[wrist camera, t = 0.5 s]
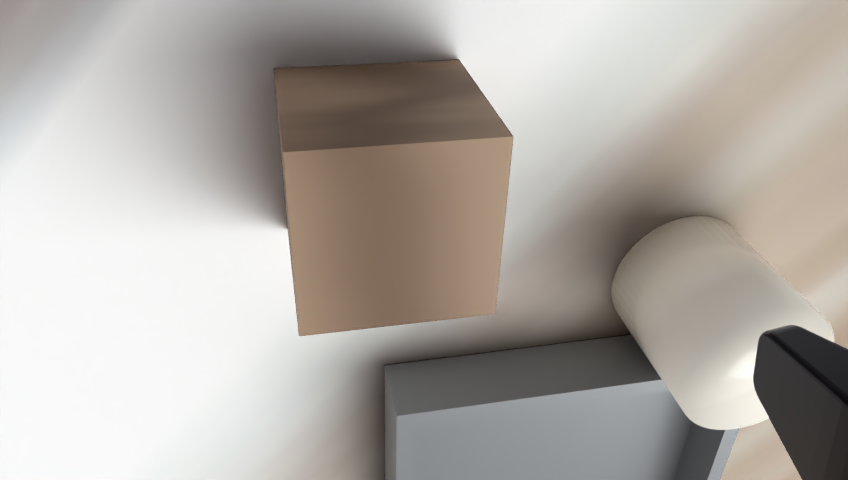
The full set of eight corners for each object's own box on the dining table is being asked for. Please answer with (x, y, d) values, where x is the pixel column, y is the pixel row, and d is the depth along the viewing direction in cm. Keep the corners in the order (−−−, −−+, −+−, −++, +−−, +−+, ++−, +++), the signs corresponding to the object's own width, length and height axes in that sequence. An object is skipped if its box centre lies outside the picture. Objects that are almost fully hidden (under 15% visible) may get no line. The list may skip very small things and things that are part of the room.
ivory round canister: (758, 209, 26) (857, 297, 22) (722, 321, 28) (804, 418, 24) (624, 222, 25) (701, 316, 21) (600, 337, 27) (664, 440, 23)
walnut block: (458, 58, 20) (513, 136, 16) (449, 214, 23) (495, 313, 19) (273, 67, 19) (282, 152, 15) (287, 227, 22) (299, 336, 18)
